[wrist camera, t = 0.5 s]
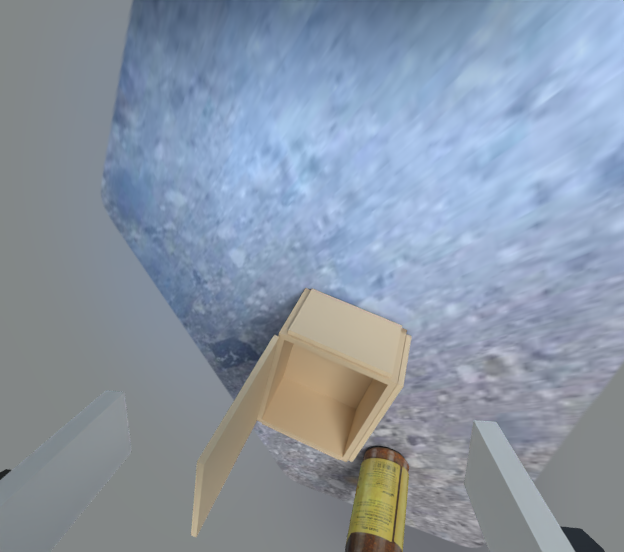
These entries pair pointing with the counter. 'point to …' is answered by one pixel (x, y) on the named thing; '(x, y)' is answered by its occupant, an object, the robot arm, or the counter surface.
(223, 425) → the flap
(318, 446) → the wooden box
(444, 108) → the counter surface
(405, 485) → the sauce bottle
